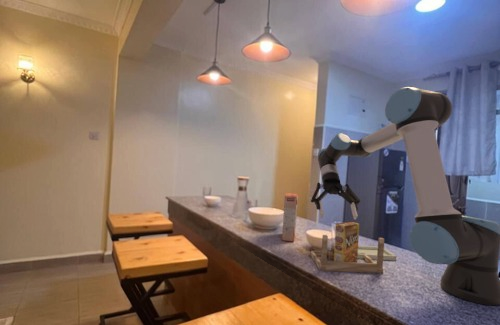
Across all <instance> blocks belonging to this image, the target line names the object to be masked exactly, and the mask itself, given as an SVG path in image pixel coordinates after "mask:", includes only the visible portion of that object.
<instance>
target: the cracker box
mask: <svg viewBox="0 0 500 325" xmlns="http://www.w3.org/2000/svg"><path fill="white" fill-rule="evenodd" d="M298 196H299V194H298V193H294V192H293V193H292V192H286V194H285V195H284V203H283V218H282V219H283V220H282V230H281V231H282V233H281V241H284V242H292V243H293V242H295V236H296V228H297V227H296V226H297V213H298V202H299V201H298Z"/></svg>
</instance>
